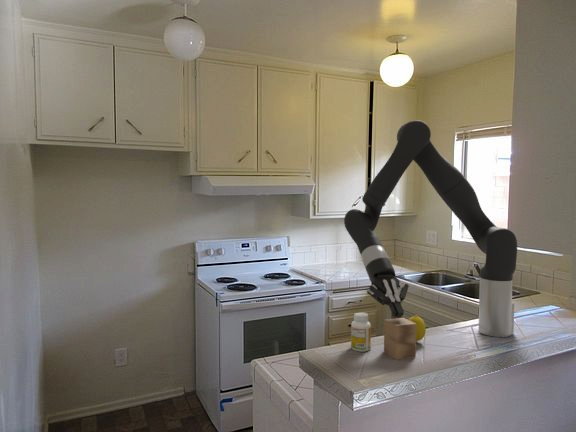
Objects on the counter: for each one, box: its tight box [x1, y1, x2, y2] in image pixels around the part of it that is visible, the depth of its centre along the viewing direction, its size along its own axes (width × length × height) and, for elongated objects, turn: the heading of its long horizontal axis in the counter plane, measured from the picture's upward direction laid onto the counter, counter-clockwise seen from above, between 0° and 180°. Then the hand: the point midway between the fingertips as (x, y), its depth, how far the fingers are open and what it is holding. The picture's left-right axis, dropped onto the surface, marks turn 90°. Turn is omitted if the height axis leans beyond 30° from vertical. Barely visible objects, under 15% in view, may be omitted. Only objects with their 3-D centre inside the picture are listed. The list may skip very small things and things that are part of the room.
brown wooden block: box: [383, 317, 417, 360], centre depth 115 cm, size 6×6×9 cm
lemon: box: [408, 314, 427, 343], centre depth 125 cm, size 6×6×8 cm
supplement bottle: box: [350, 312, 372, 353], centre depth 119 cm, size 5×5×10 cm
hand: (399, 316), depth 115 cm, fingers closed
